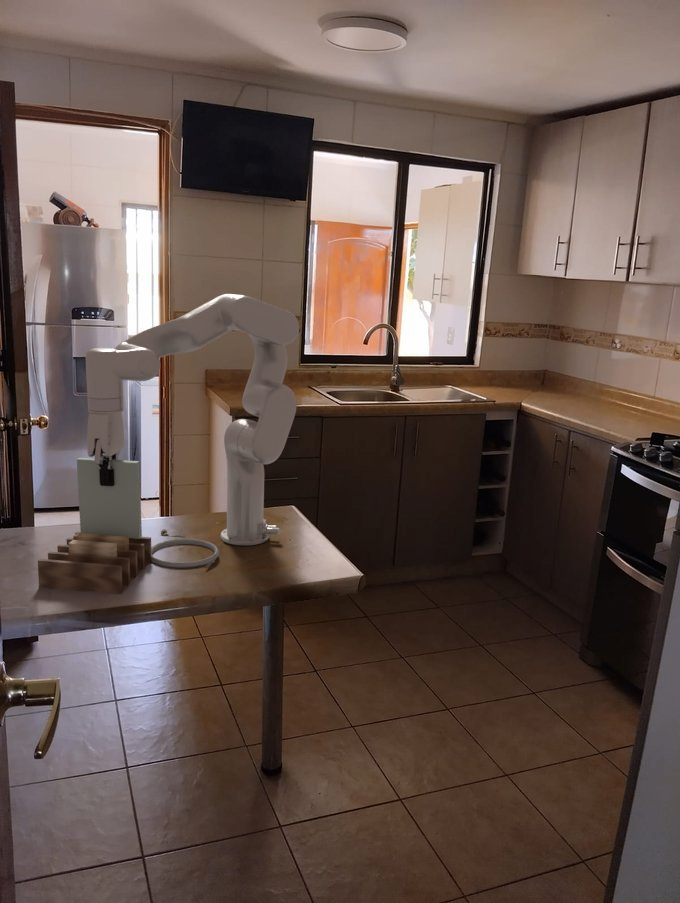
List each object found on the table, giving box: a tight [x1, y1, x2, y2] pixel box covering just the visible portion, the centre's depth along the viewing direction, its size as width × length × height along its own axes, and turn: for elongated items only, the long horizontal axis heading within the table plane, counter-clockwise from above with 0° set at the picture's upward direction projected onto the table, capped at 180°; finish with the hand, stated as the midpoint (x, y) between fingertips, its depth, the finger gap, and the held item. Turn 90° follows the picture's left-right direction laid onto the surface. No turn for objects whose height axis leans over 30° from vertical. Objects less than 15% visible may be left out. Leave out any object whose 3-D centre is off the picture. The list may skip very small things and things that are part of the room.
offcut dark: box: [72, 533, 129, 550], centre depth 167 cm, size 12×2×8 cm, turn 84°
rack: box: [37, 531, 153, 595], centre depth 166 cm, size 18×19×7 cm
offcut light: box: [68, 540, 117, 557], centre depth 163 cm, size 10×2×8 cm, turn 84°
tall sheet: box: [76, 457, 143, 539], centre depth 169 cm, size 14×2×18 cm, turn 84°
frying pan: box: [151, 528, 220, 569], centre depth 184 cm, size 17×3×28 cm
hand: (109, 483), depth 168 cm, fingers closed on tall sheet, 1 cm apart
